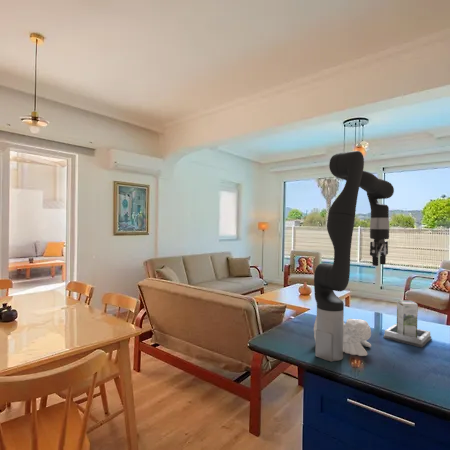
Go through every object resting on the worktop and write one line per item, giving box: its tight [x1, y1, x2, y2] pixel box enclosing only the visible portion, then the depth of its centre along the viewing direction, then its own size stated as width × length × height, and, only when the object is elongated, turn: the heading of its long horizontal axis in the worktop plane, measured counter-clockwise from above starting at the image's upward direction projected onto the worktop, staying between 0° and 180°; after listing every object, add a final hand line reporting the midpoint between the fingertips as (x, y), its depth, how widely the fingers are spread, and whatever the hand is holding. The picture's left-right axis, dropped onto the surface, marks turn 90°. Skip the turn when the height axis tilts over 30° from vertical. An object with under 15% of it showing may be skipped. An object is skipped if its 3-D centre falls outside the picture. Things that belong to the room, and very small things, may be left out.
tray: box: [383, 323, 432, 348], centre depth 128 cm, size 14×14×3 cm
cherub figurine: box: [313, 316, 372, 357], centre depth 118 cm, size 13×12×20 cm
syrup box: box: [396, 299, 419, 338], centre depth 128 cm, size 6×6×14 cm
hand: (379, 265), depth 133 cm, fingers open, 8 cm apart
